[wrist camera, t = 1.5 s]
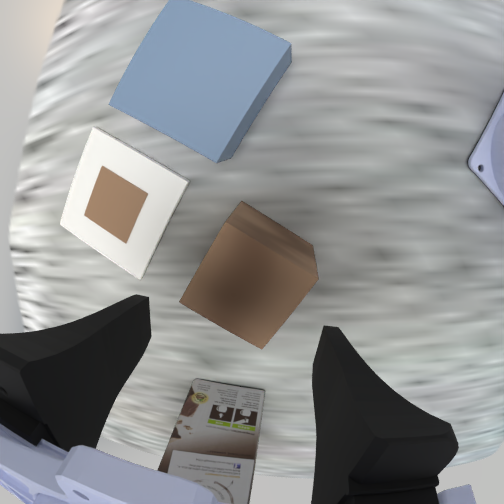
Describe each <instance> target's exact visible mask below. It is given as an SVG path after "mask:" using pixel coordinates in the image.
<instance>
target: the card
mask: <svg viewBox="0 0 504 504" xmlns="http://www.w3.org/2000/svg"><path fill="white" fill-rule="evenodd" d="M189 182H190V181H189V180H187V179H186V178H184V177H182V176H181V175H179V174H177V173H175V172H174V171H172V170H170V169H169V168H167V167H165V166H163V165H162V164H160V163H158V162H157V161H155V160H153V159H151V158H150V157H148V156H146V155H145V154H143V153H141V152H139V151H138V150H136V149H134V148H132V147H131V146H129V145H127V144H125V143H124V142H122V141H120V140H118V139H117V138H115V137H113V136H111V135H109V134H108V133H106V132H104V131H102V130H101V129H99V128H97V127H93V129H92V131H91V134H90V136H89V139H88V141H87V144H86V146H85V149H84V151H83V154H82V157H81V159H80V162H79V165H78V167H77V170H76V173H75V176H74V179H73V182H72V185H71V188H70V191H69V194H68V198H67V201H66V204H65V208H64V211H63V214H62V218H61V222H60V225H62V226H63V227H64V228H66V229H67V230H68V231H70V232H71V233H73V234H74V235H75V236H77V237H78V238H79V239H81V240H82V241H84V242H85V243H86V244H88V245H89V246H91V247H92V248H93V249H95V250H96V251H98V252H99V253H101V254H102V255H103V256H105V257H106V258H108V259H109V260H111V261H112V262H114V263H115V264H117V265H118V266H120V267H121V268H123V269H124V270H126V271H127V272H129V273H130V274H132V275H133V276H135V277H136V278H138V279H139V280H141V279H142V278H143V275H144V273H145V271H146V269H147V267H148V265H149V262H150V260H151V258H152V256H153V254H154V252H155V250H156V247H157V245H158V243H159V241H160V239H161V237H162V235H163V233H164V231H165V229H166V227H167V225H168V223H169V221H170V219H171V217H172V215H173V213H174V211H175V209H176V207H177V205H178V203H179V201H180V199H181V197H182V195H183V194H184V192H185V190H186V188H187V186H188V184H189Z"/></svg>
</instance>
